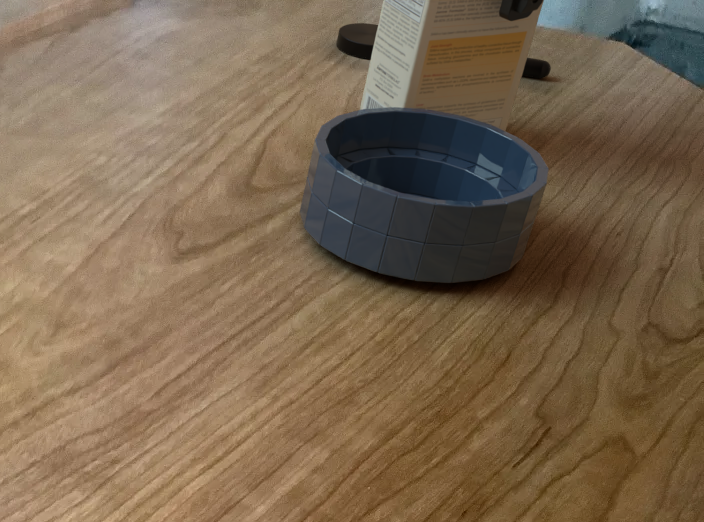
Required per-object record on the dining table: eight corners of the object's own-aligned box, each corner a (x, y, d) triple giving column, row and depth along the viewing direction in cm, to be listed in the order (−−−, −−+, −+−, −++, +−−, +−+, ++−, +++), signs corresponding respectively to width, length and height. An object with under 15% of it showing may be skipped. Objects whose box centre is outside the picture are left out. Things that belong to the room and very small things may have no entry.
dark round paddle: (549, 68, 99) (554, 51, 98) (545, 90, 96) (551, 73, 95) (341, 32, 102) (345, 16, 102) (331, 52, 99) (334, 36, 98)
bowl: (404, 172, 85) (424, 92, 81) (566, 258, 77) (596, 174, 74) (253, 216, 79) (269, 132, 76) (413, 314, 72) (437, 226, 68)
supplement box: (460, 117, 91) (519, -94, 83) (503, 148, 88) (568, -69, 79) (350, 128, 89) (398, -87, 81) (389, 161, 86) (444, -61, 77)
